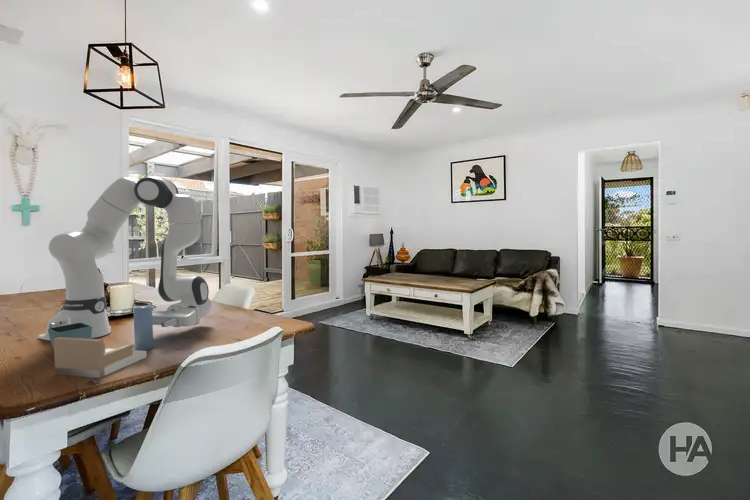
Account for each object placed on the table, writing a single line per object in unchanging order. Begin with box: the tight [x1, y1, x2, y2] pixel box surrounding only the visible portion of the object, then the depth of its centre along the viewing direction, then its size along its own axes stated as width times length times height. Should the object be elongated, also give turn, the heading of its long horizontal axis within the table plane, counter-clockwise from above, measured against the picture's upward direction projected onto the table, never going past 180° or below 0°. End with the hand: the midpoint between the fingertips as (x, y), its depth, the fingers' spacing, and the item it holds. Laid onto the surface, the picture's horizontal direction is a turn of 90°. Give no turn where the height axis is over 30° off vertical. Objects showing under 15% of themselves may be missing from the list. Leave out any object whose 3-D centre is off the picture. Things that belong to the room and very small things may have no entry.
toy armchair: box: [53, 337, 147, 379], centre depth 105 cm, size 14×16×10 cm
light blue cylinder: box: [132, 305, 154, 352], centre depth 120 cm, size 5×5×14 cm
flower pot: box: [48, 322, 92, 349], centre depth 114 cm, size 9×9×9 cm
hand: (150, 324), depth 123 cm, fingers open, 8 cm apart
